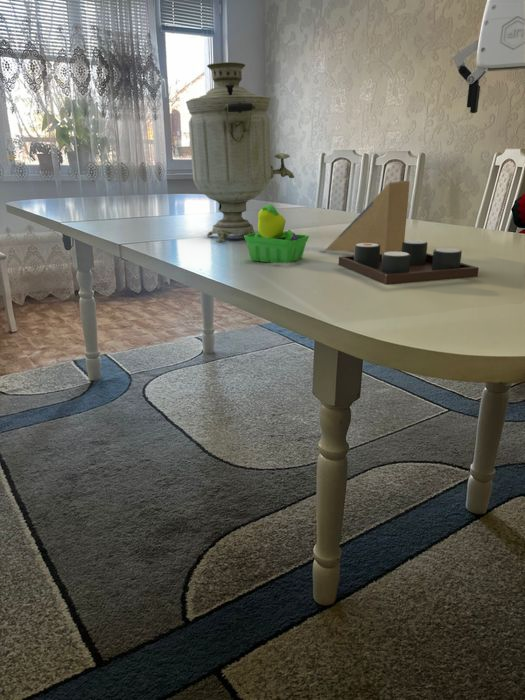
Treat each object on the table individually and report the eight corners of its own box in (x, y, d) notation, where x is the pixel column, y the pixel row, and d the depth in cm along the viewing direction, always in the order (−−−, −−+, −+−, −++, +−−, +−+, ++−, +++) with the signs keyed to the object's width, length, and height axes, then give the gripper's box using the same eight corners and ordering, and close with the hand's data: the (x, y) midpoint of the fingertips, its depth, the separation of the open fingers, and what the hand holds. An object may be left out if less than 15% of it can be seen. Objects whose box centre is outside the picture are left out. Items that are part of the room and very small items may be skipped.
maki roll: (383, 268, 99) (385, 245, 97) (360, 270, 97) (362, 246, 96) (371, 263, 103) (372, 241, 102) (349, 265, 102) (350, 243, 100)
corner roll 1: (414, 279, 90) (416, 254, 89) (389, 281, 89) (391, 256, 87) (399, 274, 94) (401, 250, 93) (375, 276, 93) (377, 252, 91)
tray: (477, 279, 92) (479, 267, 91) (385, 288, 87) (386, 275, 86) (418, 261, 108) (419, 251, 107) (338, 267, 103) (338, 256, 102)
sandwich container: (344, 245, 127) (347, 178, 122) (404, 252, 117) (410, 180, 112) (323, 250, 121) (325, 180, 116) (384, 258, 111) (390, 182, 106)
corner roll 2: (430, 264, 102) (432, 242, 100) (409, 266, 100) (411, 244, 99) (416, 260, 106) (418, 239, 104) (396, 262, 105) (397, 240, 103)
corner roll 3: (464, 275, 93) (467, 251, 91) (441, 277, 91) (444, 252, 90) (448, 270, 97) (450, 247, 96) (426, 271, 96) (428, 248, 94)
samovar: (296, 247, 125) (299, 52, 112) (183, 247, 126) (173, 54, 112) (293, 230, 153) (295, 73, 140) (200, 230, 154) (193, 74, 140)
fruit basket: (310, 260, 110) (311, 203, 106) (288, 268, 103) (289, 206, 99) (262, 255, 116) (262, 200, 112) (239, 262, 109) (237, 204, 105)
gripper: (456, -18, 78) (444, 112, 84) (595, -36, 71) (571, 107, 76) (464, -5, 84) (452, 115, 90) (592, -21, 77) (569, 110, 83)
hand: (506, 111), depth 83 cm, fingers open, 9 cm apart
